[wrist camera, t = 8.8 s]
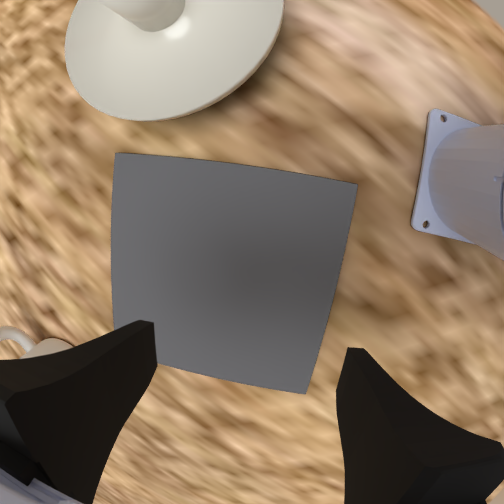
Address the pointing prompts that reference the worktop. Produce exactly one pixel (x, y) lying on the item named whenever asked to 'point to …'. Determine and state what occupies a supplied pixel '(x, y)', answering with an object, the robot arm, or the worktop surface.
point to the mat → (228, 264)
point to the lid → (166, 53)
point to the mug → (29, 345)
